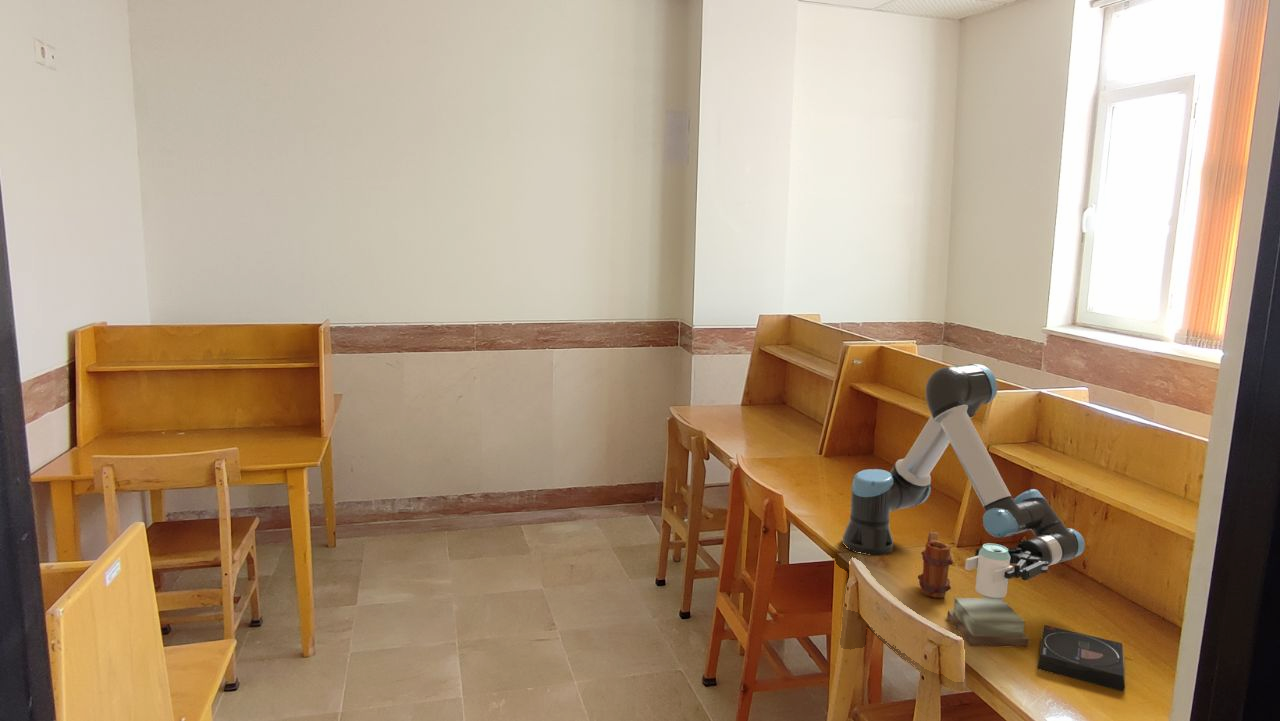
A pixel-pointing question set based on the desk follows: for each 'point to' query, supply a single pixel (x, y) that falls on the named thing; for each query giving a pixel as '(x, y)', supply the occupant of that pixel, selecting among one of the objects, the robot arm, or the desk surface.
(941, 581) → the mug
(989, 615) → the two-tier square plinth
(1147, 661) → the desk surface
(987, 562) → the can
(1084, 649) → the portable cd player
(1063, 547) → the robot arm
